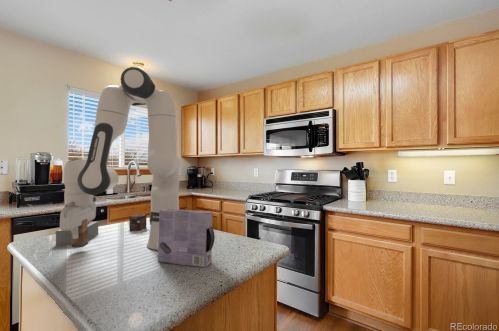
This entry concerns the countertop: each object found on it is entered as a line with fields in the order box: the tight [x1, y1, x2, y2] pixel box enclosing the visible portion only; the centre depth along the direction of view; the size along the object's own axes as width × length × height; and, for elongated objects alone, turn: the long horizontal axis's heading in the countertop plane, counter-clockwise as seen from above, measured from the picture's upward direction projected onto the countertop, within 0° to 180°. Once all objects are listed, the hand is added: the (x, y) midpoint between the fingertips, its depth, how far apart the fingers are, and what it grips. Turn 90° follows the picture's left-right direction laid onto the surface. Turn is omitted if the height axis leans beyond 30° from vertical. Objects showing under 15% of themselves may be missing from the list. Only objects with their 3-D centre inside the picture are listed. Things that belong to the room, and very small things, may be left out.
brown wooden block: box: [71, 219, 89, 249], centre depth 96 cm, size 4×4×10 cm
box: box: [129, 213, 147, 232], centre depth 129 cm, size 6×6×7 cm
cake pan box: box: [157, 209, 215, 268], centre depth 84 cm, size 19×5×18 cm, turn 74°
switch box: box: [55, 220, 99, 246], centre depth 112 cm, size 10×16×6 cm, turn 10°
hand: (79, 236), depth 96 cm, fingers closed on brown wooden block, 4 cm apart
